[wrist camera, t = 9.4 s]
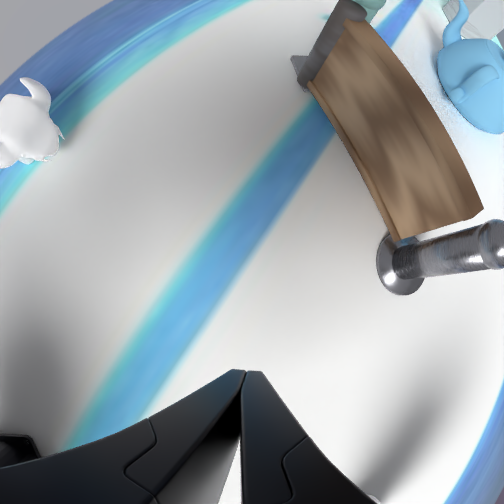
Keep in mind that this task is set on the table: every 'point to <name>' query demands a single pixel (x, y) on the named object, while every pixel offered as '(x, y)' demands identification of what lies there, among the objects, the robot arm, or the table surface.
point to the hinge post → (439, 256)
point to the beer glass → (374, 499)
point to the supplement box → (479, 17)
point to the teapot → (473, 75)
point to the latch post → (371, 3)
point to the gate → (387, 127)
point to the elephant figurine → (27, 126)
